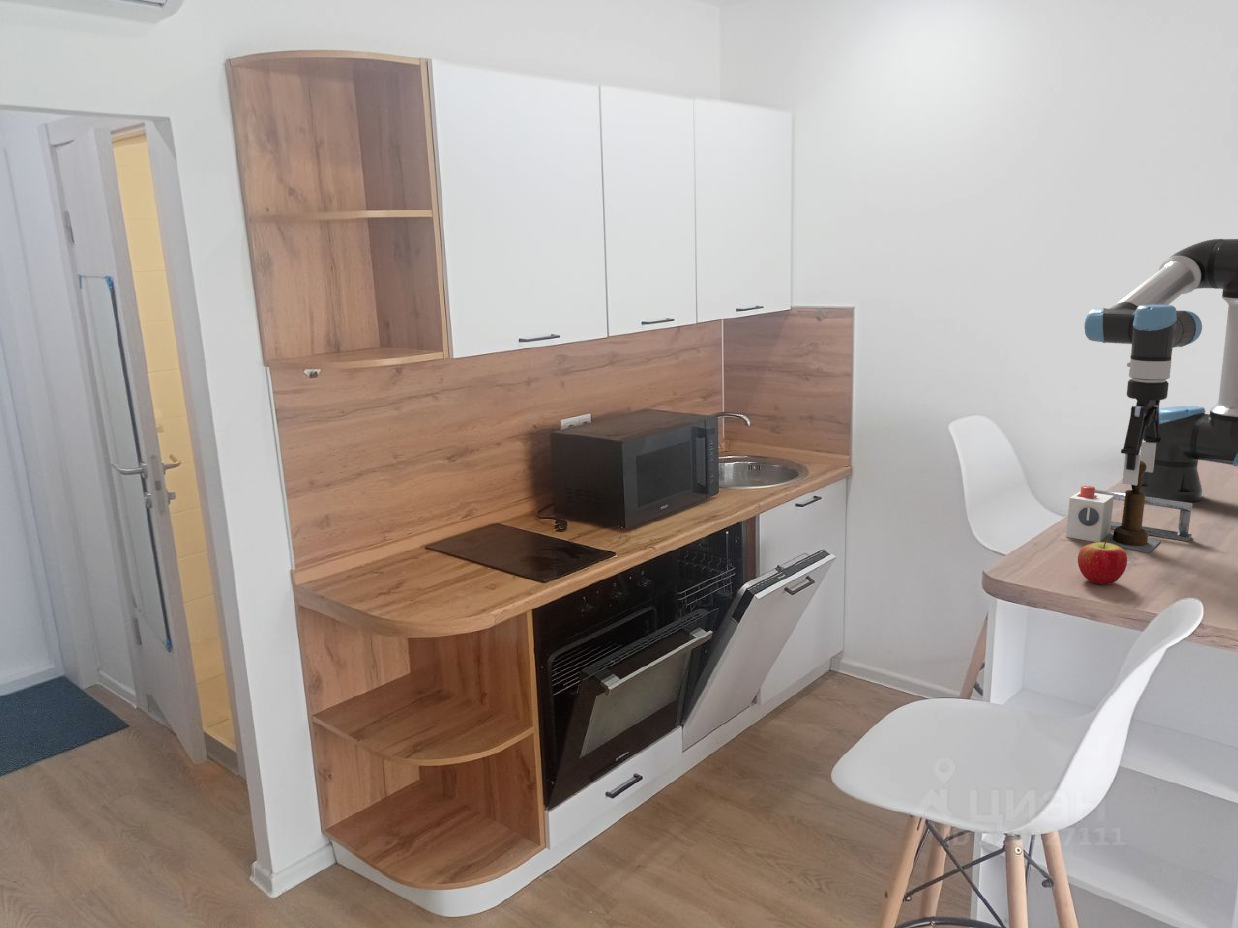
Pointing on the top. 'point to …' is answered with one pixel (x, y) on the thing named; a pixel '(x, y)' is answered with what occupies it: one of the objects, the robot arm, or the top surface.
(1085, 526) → the white dial box
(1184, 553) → the top surface
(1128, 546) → the pad
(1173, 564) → the top surface
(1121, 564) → the apple
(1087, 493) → the button
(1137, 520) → the brown wooden tall piece
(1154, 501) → the handrail
